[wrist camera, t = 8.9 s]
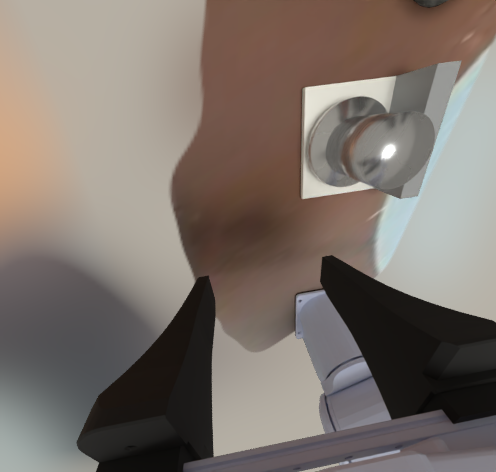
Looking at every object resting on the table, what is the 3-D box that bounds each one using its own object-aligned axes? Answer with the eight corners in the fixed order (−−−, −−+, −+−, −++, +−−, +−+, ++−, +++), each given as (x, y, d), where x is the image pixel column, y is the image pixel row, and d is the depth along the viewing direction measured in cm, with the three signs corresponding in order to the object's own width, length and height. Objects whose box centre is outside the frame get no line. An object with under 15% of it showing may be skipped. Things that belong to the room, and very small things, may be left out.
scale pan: (375, 179, 19) (381, 181, 18) (306, 189, 18) (309, 192, 18) (392, 92, 15) (400, 90, 15) (308, 103, 15) (313, 102, 14)
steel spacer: (369, 172, 17) (418, 186, 13) (322, 176, 17) (356, 192, 13) (383, 114, 15) (447, 108, 11) (329, 117, 15) (373, 113, 11)
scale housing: (387, 184, 20) (421, 195, 17) (300, 197, 20) (317, 211, 17) (413, 75, 16) (465, 60, 13) (302, 88, 16) (325, 77, 12)
